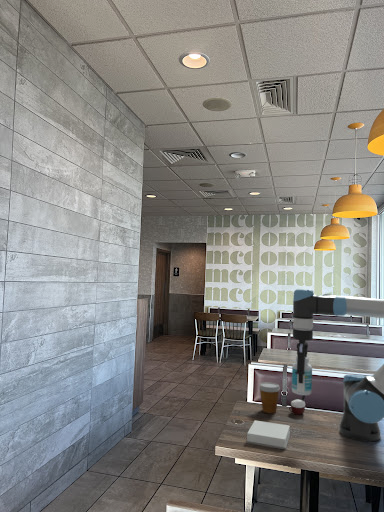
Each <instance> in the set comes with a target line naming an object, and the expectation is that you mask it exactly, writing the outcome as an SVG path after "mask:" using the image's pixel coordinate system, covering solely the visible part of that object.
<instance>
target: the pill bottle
mask: <svg viewBox="0 0 384 512" xmlns="http://www.w3.org/2000/svg"><path fill="white" fill-rule="evenodd" d="M295 361H296V362H294V363H293V364H292V366H291V367H292V370H291V391H292V393H293V394H296V395H299V396H303V395H305V396H309V395H311V394H312V392H313V391H312V389H313V388H312V387H313V383H312V382H313V366H312V365H311V364H310V363H309V357H308V356H307V357H305V369H304V372H305V392H299V391H297V374H295V372H297V356H296V357H295Z"/></svg>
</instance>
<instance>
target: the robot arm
mask: <svg viewBox="0 0 384 512" xmlns="http://www.w3.org/2000/svg"><path fill="white" fill-rule="evenodd" d="M314 293H315V292H314V290H313V289H301V288H298V289H295V290H294V291H293V299H292V302H293V303H292V305H293V306H292V314H293V315H292V318H293V319H291V323H292V328H293V329H292V339H294V340H298V342H297V344H296V349H297V350H296V355H297V356H296V357H297V361H296V362H297V372H295V374H297V391H299V392H305V372H304V369H305V357H307V358H308V349H309V344H308V342H309V341H312V340H313V337H314V333H313V330H312V329H314V315H315V316H316V315H320V316H321V315H322V316H334V317H344V316H346V315H348V316H359V317H366V318H367V317H370V318H378V319H384V299H381V298H370V297H360V296H348V295H337V294H330V293H325V294H321V295H317V294H314ZM342 383H343V413H342V416H341V420H340V421H339V426H338V427H339V429H338V431H339V433H340V434H341V435H342V436H344V437H347V438H349V439H352V440H356V441H360V442H376V441H379V440H380V439H381V430H380V426H379V424H378V423H379V422H380V421H382V420H383V419H384V363H383V364H382V365H381V366H380V367H379V368H378V369H377V370H376V371H375V373H374V374H373V375H364V374H345V375H344V376H343V381H342Z"/></svg>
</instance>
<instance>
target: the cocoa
mask: <svg viewBox="0 0 384 512" xmlns="http://www.w3.org/2000/svg"><path fill="white" fill-rule="evenodd" d="M305 399H306V395H301V399H294V400H292V401H290V406H289V408H288V410H289V411H290V412H291V413H292V414H294V415H296V416H297V415H298V416H301V415H303V414H304V413H305V410H306V402H305Z"/></svg>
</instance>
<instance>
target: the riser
mask: <svg viewBox="0 0 384 512" xmlns="http://www.w3.org/2000/svg"><path fill="white" fill-rule="evenodd" d="M290 428H291V426H290V425H288V424H283V423H275V422H268V421H262V420H261V421H260V420H253V423H252V425H251V426H250V428H249V430H248V431H247V433H246V436H247V437H246V439H247V440H246V444H250V443H251V444H250V445H256V446H257V445H258V446H263V447H268V448H275V449H281V450H287V446H288V444H289V443H288V442H289V441H290V437H291V429H290Z"/></svg>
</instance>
